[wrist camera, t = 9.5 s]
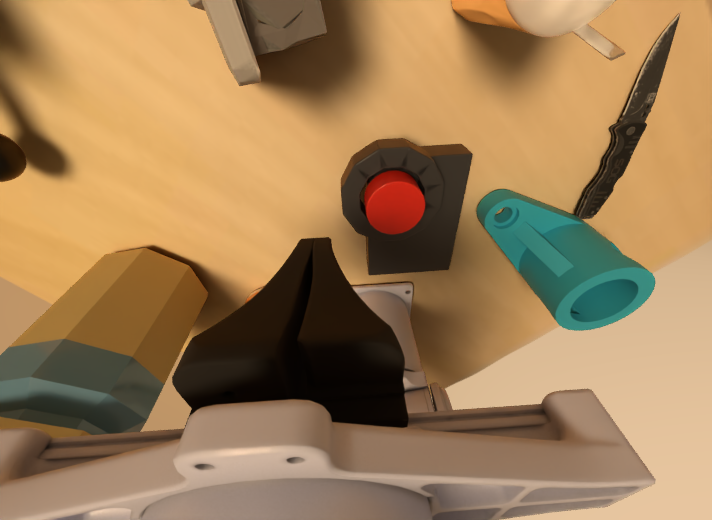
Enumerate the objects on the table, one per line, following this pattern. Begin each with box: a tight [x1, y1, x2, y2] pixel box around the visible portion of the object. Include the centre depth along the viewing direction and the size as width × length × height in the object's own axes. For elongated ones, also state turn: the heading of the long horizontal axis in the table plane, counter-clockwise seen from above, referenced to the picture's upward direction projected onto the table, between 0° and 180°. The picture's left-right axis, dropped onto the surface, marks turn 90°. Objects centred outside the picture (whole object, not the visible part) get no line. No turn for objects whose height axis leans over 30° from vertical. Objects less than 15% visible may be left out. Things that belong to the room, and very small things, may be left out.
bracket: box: [477, 189, 655, 330], centre depth 22 cm, size 6×12×7 cm, turn 56°
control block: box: [341, 138, 473, 275], centre depth 22 cm, size 11×9×4 cm
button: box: [364, 171, 425, 234], centre depth 18 cm, size 4×4×2 cm
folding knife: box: [576, 13, 680, 219], centre depth 20 cm, size 13×1×2 cm
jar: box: [0, 248, 208, 438], centre depth 21 cm, size 9×9×15 cm
